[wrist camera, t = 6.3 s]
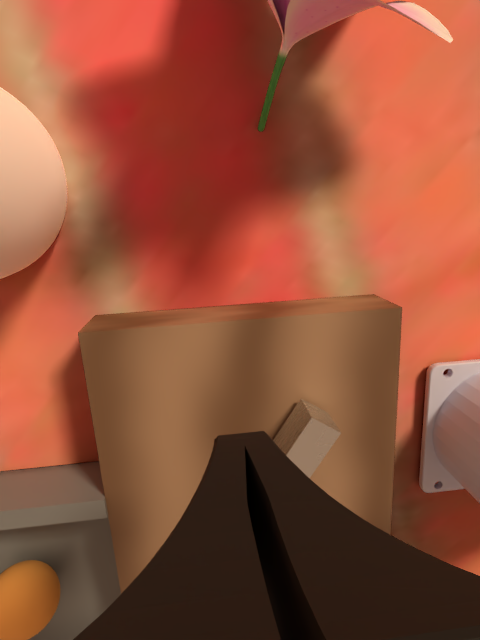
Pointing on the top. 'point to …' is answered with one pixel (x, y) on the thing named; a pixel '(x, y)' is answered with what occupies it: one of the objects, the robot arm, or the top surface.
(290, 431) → the lever
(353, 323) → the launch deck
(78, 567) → the tray
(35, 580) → the ball
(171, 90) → the top surface
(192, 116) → the top surface
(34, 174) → the cup
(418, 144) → the top surface
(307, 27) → the lily
